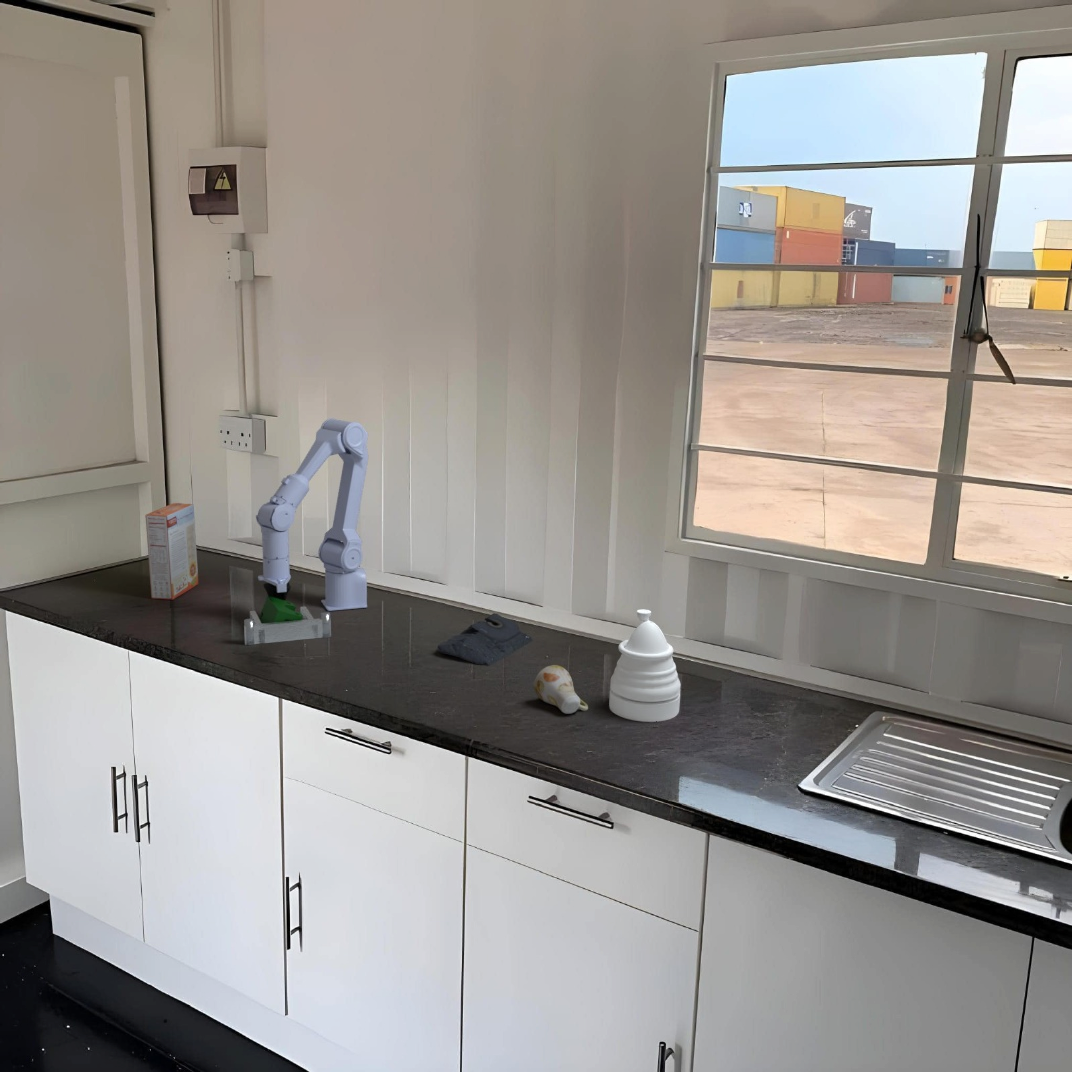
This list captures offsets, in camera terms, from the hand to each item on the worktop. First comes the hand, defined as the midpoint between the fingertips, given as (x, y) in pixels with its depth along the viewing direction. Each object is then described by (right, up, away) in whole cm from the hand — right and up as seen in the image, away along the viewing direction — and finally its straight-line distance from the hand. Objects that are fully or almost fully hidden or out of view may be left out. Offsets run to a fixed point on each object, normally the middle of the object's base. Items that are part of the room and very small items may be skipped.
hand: (277, 614), depth 234 cm
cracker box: (-30, +4, +20) cm, 36 cm away
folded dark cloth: (+47, -6, -12) cm, 49 cm away
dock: (+3, -3, -6) cm, 8 cm away
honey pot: (+78, -14, -43) cm, 90 cm away
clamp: (+2, -3, -6) cm, 7 cm away
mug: (+63, -14, -43) cm, 78 cm away
